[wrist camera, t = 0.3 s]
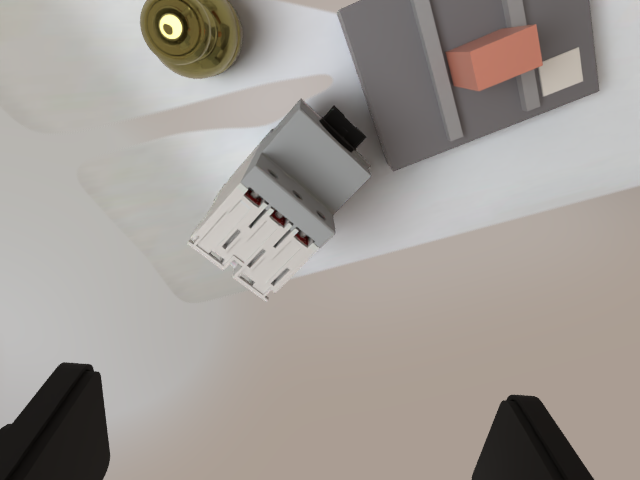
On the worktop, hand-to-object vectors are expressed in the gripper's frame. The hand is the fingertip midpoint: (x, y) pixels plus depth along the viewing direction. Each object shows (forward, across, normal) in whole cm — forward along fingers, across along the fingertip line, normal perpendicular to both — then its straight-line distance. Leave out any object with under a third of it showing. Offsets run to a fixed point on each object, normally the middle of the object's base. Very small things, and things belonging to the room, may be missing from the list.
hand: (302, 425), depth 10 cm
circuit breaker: (+36, +1, +2) cm, 36 cm away
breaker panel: (+36, -14, -10) cm, 40 cm away
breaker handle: (+33, -14, -9) cm, 37 cm away
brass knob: (+36, +10, -8) cm, 38 cm away
